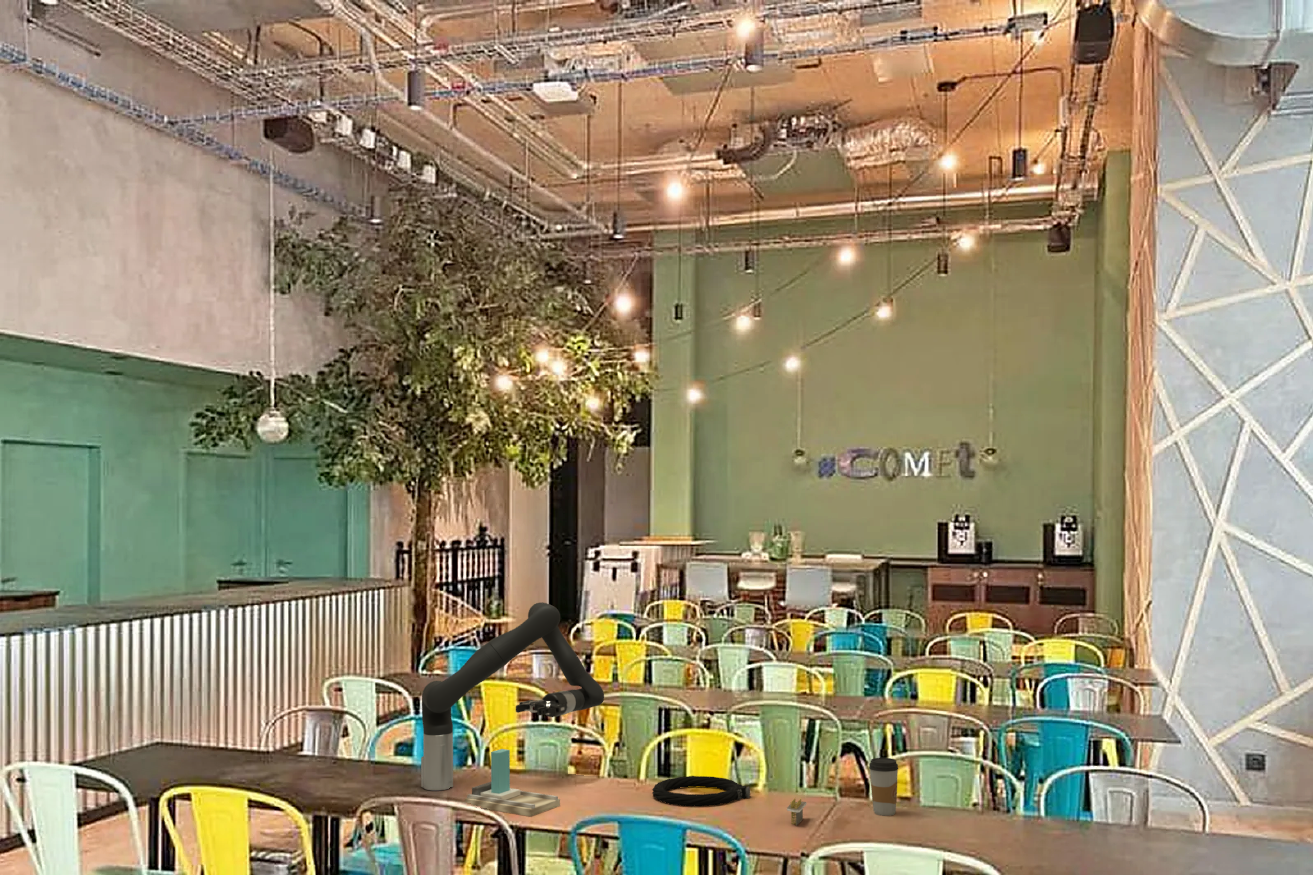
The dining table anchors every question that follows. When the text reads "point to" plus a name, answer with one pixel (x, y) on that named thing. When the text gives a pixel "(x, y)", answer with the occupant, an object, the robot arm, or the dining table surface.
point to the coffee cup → (884, 785)
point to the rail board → (513, 801)
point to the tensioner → (500, 776)
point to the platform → (796, 811)
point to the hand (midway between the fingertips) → (527, 710)
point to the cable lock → (681, 799)
